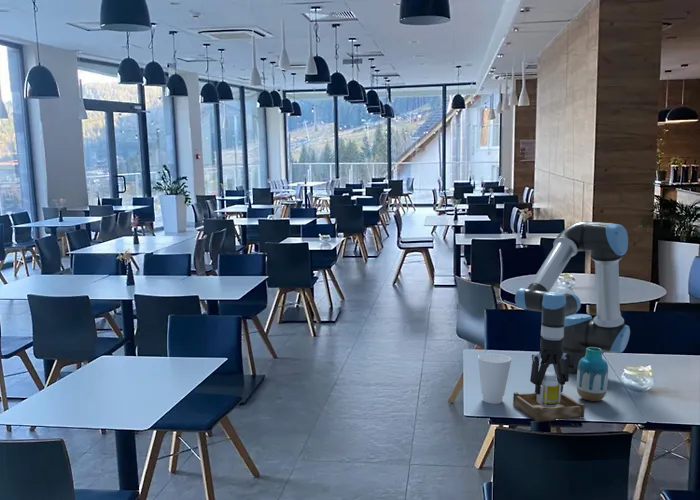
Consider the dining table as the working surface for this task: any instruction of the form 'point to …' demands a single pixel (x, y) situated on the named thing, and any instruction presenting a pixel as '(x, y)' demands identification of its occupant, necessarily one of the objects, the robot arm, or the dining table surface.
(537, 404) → the crate
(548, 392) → the pill bottle
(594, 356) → the vase
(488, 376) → the cup
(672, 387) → the dining table surface
